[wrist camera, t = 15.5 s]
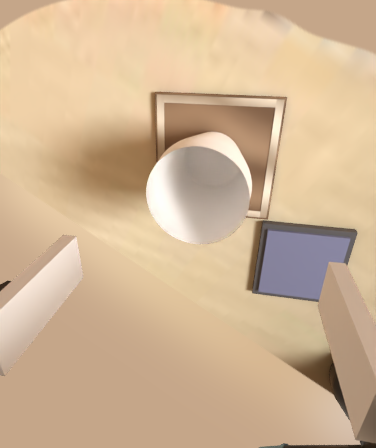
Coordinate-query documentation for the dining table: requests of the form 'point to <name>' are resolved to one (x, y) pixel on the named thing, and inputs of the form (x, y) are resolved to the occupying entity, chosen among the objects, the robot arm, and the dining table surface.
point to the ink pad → (298, 258)
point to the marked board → (228, 132)
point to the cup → (200, 189)
